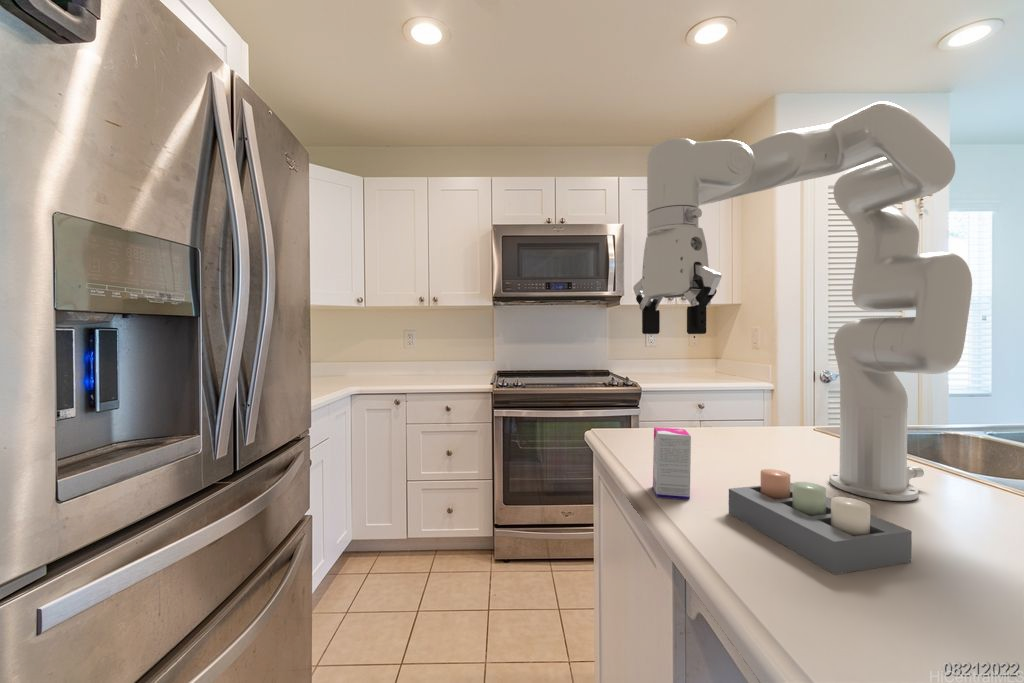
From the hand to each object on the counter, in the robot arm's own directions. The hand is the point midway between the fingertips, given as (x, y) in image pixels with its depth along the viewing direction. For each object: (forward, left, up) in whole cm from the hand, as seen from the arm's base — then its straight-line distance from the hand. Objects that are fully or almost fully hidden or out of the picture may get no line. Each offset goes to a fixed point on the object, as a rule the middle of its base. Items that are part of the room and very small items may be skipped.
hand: (672, 333), depth 67 cm
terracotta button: (-16, +4, -26) cm, 31 cm away
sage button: (-16, +10, -26) cm, 32 cm away
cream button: (-16, +16, -26) cm, 34 cm away
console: (-16, +10, -29) cm, 35 cm away
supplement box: (-6, -9, -29) cm, 31 cm away
